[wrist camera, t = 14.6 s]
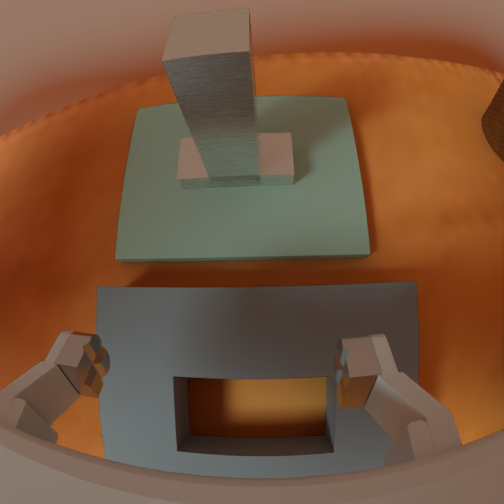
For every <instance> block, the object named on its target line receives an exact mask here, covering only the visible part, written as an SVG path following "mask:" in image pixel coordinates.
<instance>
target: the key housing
mask: <svg viewBox="0 0 504 504" xmlns="http://www.w3.org/2000/svg"><path fill="white" fill-rule="evenodd" d="M376 334H384V335H385V336H386V338H387V341H388V344H389V346H390V349H391V352H392V355H393V358H394V361H395V364H396V366H397V369H398V372H403V373H404V374H406V375H407V376H408V377H409V378H411V379H412V380H413V381H414V382H415V383H417V384H418V370H419V324H418V300H417V285H416V281H404V282H386V283H366V284H342V285H315V286H279V287H203V288H179V287H105V286H98V287H97V314H96V335H99V337H100V339H101V340H102V344H101V346H102V347H104V348H105V349H106V350H107V352H108V354H109V357H110V368H109V371H108V374H107V375H106V376H104V377H103V378H102V380H103V383H104V384H103V387H102V389H101V392H100V395H99V409H100V419H101V428H102V437H103V444H104V451H105V458H106V459H108V460H112V461H116V462H120V463H125V464H129V465H134V466H139V467H144V468H150V469H156V470H162V471H169V472H176V473H184V474H192V475H202V476H214V477H231V478H292V477H309V476H321V475H331V474H339V473H347V472H354V471H361V470H367V469H372V468H378V467H383V466H385V464H384V458H383V456H384V455H385V454H386V452H387V451H388V450H389V449H390V448H391V446H392V445H393V444H394V443H395V442H394V441H393V440H392V439H391V438H390V436H389V435H388V434H387V433H386V432H385V431H384V430H383V429H382V427H381V426H380V425H379V424H378V423H377V422H376V421H375V420H374V418H373V417H372V416H371V415H370V414H369V413H368V412H367V410H366V409H365V408H364V406H363V407H352V408H340V409H339V403H338V397H337V389H338V385H339V384H338V383H337V382H335V379H334V370H333V365H334V356H335V354H336V353H337V352H338V349H337V342H338V339H339V338H340V337H352V336H363V335H376ZM188 377H195V378H218V379H288V378H311V377H327V402H326V432H325V435H318V436H303V437H278V438H242V437H217V436H202V435H190V424H189V402H188Z"/></svg>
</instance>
